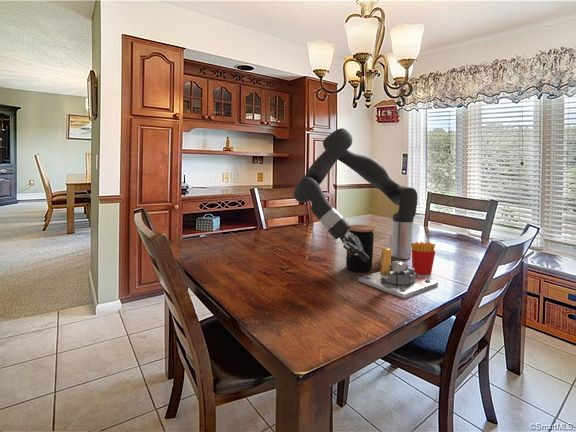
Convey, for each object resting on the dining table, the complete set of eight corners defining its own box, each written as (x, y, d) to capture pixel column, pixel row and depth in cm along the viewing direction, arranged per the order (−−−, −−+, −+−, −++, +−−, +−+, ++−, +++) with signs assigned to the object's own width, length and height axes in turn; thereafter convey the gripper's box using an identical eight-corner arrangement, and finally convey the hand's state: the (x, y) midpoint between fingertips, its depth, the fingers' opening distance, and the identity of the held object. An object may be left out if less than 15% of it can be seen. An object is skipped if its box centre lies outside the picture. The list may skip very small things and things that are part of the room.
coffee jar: (341, 266, 147) (342, 225, 144) (362, 264, 151) (364, 223, 148) (354, 274, 137) (356, 230, 134) (377, 271, 141) (379, 228, 138)
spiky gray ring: (391, 272, 135) (393, 239, 133) (419, 279, 127) (421, 244, 125) (367, 282, 123) (369, 247, 121) (397, 291, 115) (399, 253, 113)
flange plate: (358, 281, 130) (359, 260, 128) (392, 271, 141) (393, 252, 140) (404, 298, 114) (405, 275, 113) (437, 286, 125) (439, 265, 124)
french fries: (430, 272, 141) (433, 241, 139) (434, 275, 137) (437, 243, 135) (408, 271, 142) (410, 240, 140) (410, 274, 138) (413, 243, 136)
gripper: (332, 226, 132) (363, 261, 129) (321, 233, 120) (355, 272, 117) (346, 214, 129) (378, 249, 126) (337, 219, 117) (371, 259, 114)
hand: (367, 260), depth 121 cm, fingers closed
